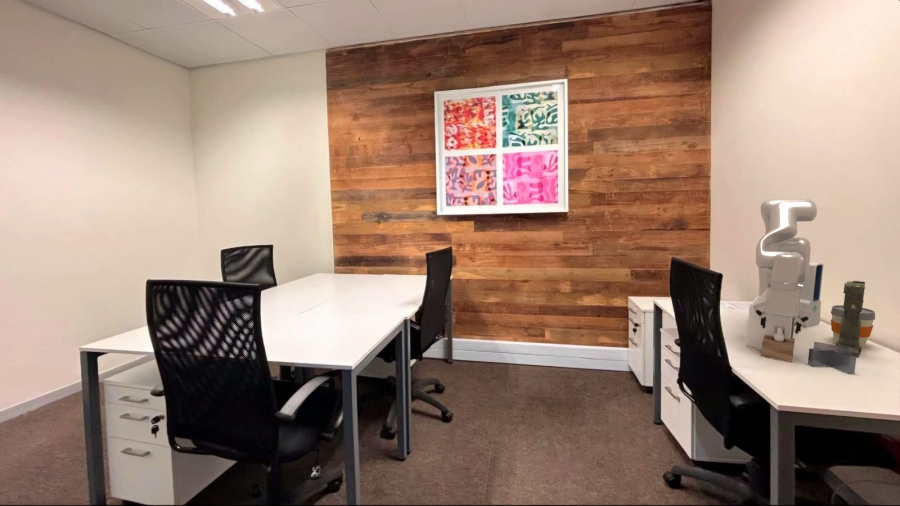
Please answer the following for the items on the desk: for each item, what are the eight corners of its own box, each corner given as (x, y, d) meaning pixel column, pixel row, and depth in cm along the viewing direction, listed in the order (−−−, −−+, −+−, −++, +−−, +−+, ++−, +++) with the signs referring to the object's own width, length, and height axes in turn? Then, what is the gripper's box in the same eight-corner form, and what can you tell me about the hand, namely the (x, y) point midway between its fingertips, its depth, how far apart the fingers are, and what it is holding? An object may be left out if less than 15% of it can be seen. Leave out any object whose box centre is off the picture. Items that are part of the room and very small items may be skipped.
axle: (772, 352, 151) (775, 325, 150) (782, 354, 149) (785, 327, 148) (772, 354, 149) (774, 327, 148) (782, 356, 147) (784, 329, 146)
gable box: (753, 333, 174) (759, 272, 171) (792, 340, 165) (799, 276, 162) (745, 347, 159) (751, 280, 155) (788, 355, 149) (795, 284, 146)
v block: (807, 355, 148) (809, 340, 147) (851, 363, 140) (853, 348, 139) (807, 365, 139) (809, 349, 138) (854, 374, 131) (856, 357, 130)
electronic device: (806, 328, 179) (812, 264, 176) (786, 323, 186) (792, 262, 183) (820, 324, 184) (826, 262, 181) (801, 320, 191) (807, 260, 188)
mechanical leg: (835, 341, 160) (842, 274, 151) (860, 345, 155) (869, 277, 146) (833, 358, 151) (841, 288, 142) (860, 363, 146) (870, 291, 137)
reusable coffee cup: (832, 337, 167) (835, 303, 165) (874, 345, 157) (879, 309, 155) (823, 343, 160) (827, 308, 158) (867, 352, 150) (872, 315, 148)
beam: (763, 347, 157) (765, 333, 156) (793, 353, 151) (794, 338, 150) (761, 356, 148) (762, 341, 147) (792, 362, 142) (794, 346, 141)
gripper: (815, 287, 143) (810, 332, 145) (755, 282, 154) (752, 323, 156) (815, 291, 137) (810, 337, 139) (753, 284, 149) (750, 327, 151)
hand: (779, 330), depth 148 cm, fingers open, 9 cm apart
